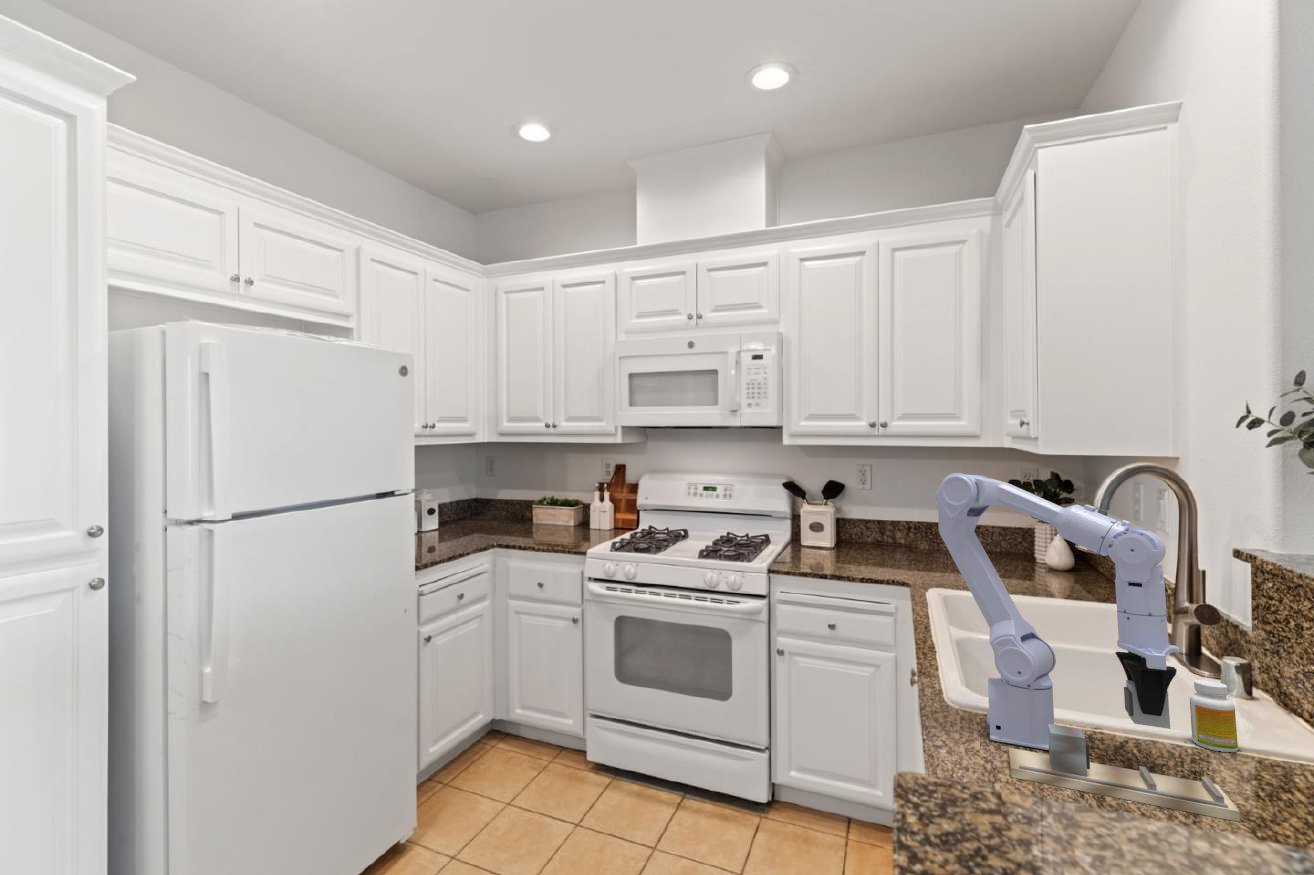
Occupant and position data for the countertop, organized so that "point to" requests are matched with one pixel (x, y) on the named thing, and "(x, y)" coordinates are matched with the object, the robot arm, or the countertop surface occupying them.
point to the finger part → (1136, 713)
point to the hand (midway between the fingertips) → (1147, 709)
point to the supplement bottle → (1213, 717)
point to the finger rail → (1116, 777)
